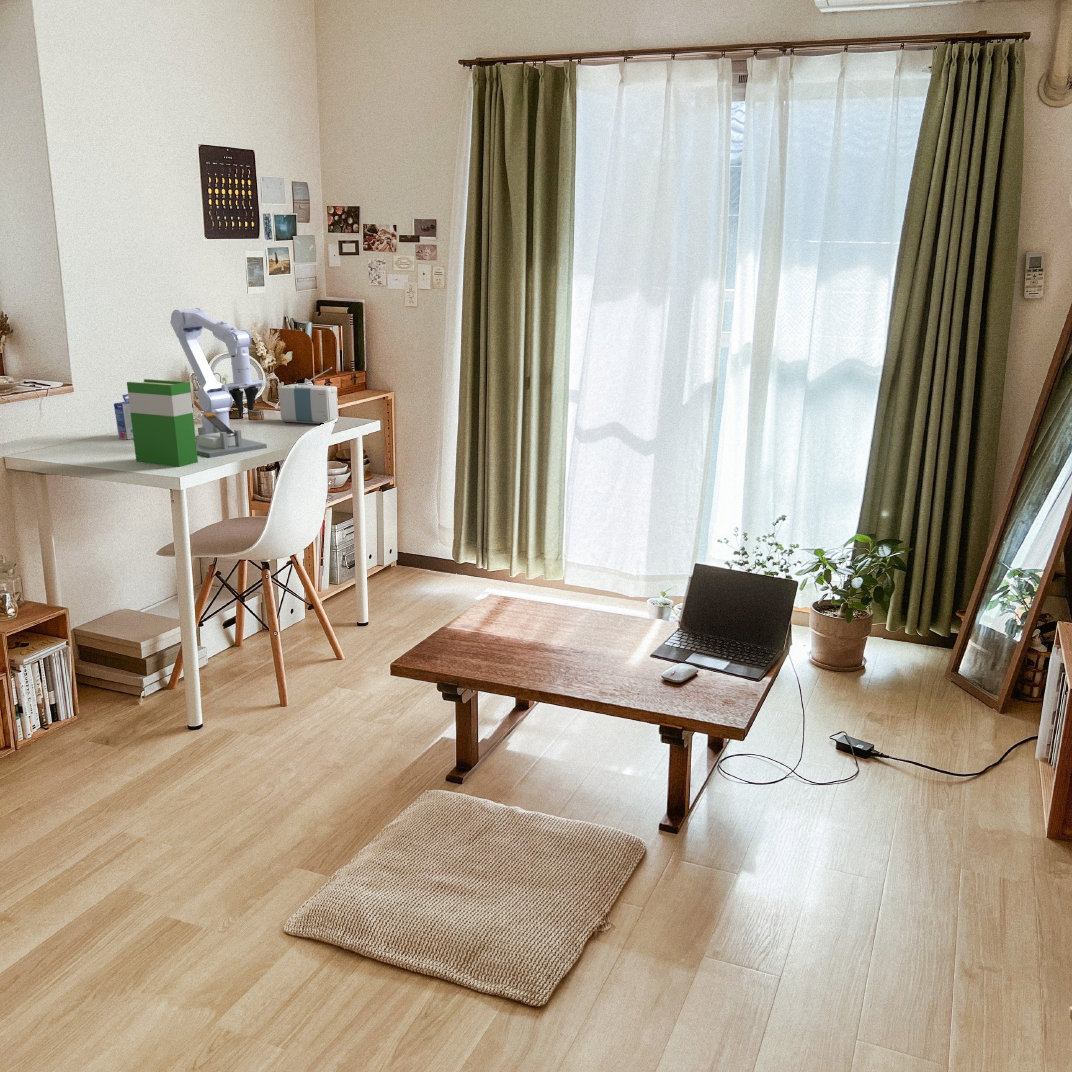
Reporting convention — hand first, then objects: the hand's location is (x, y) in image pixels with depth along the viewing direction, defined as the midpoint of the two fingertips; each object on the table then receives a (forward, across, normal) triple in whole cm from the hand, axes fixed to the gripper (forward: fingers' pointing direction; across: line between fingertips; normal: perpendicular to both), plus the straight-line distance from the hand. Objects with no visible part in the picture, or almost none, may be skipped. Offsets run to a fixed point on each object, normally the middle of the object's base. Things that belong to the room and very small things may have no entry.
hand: (245, 410), depth 336 cm
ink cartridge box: (+10, -20, +39) cm, 45 cm away
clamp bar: (+3, -11, -2) cm, 12 cm away
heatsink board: (+10, -11, -1) cm, 15 cm away
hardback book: (+11, -33, -8) cm, 36 cm away
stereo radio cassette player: (+10, +36, +17) cm, 41 cm away
